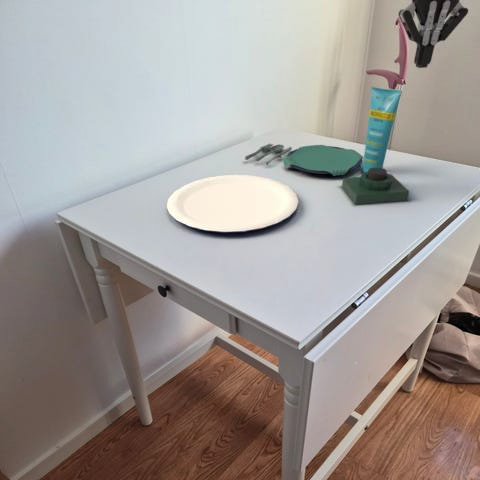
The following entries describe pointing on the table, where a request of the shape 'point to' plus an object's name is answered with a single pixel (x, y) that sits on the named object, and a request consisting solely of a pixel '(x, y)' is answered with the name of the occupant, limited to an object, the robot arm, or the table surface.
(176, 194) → the plate
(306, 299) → the table surface
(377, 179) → the button
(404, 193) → the pump base
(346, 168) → the cutlery set
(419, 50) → the robot arm
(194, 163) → the table surface
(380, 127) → the tube
